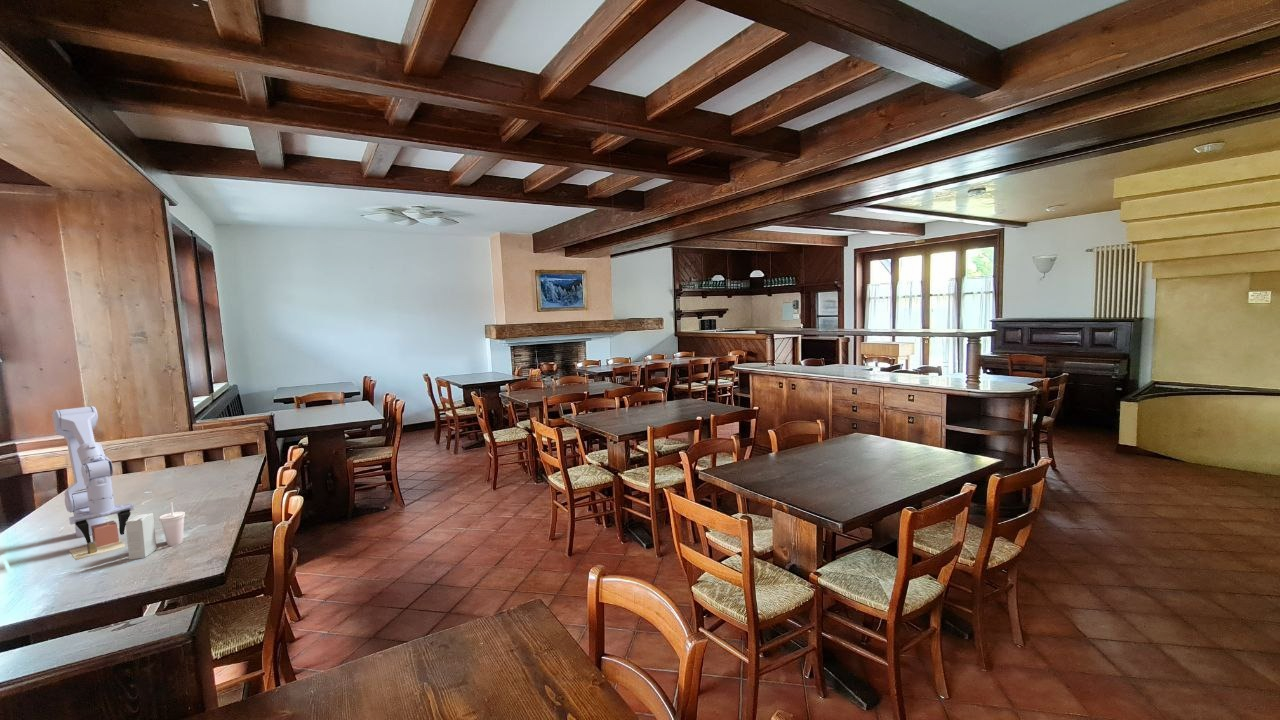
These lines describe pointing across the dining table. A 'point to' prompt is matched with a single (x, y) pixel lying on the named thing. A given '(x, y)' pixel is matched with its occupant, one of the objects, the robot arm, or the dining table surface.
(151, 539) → the skincare box
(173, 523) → the smoothie
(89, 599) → the dining table surface
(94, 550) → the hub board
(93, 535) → the terracotta orange block
